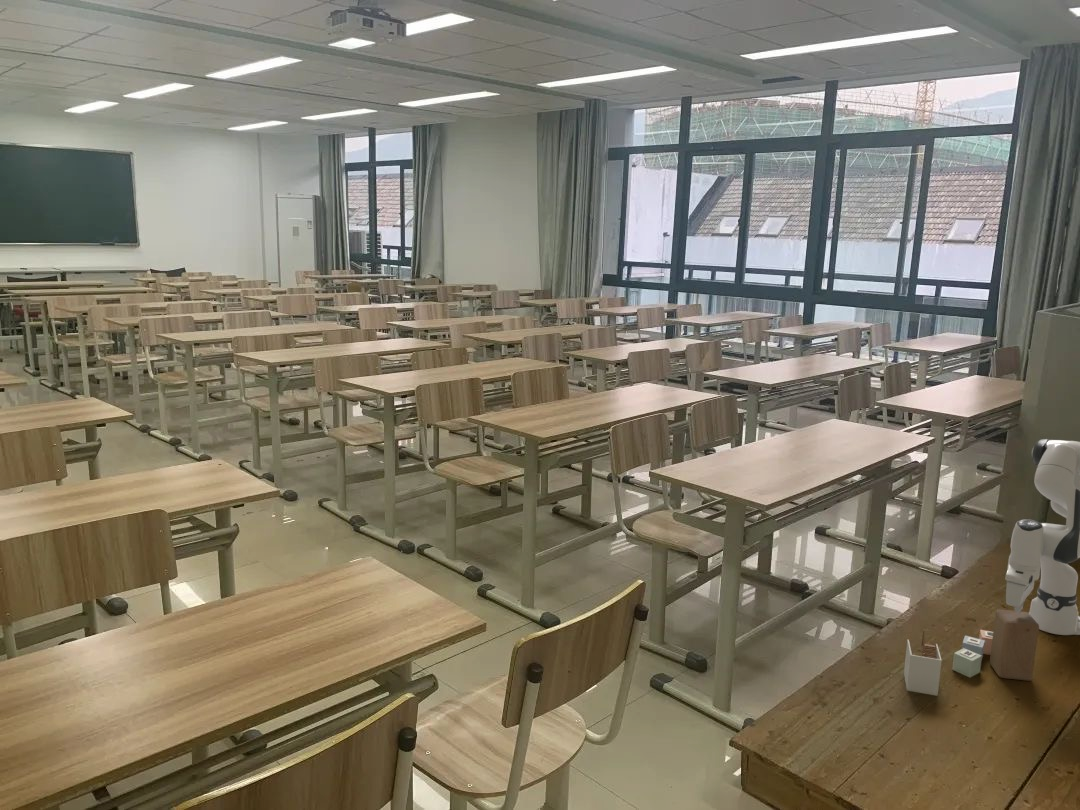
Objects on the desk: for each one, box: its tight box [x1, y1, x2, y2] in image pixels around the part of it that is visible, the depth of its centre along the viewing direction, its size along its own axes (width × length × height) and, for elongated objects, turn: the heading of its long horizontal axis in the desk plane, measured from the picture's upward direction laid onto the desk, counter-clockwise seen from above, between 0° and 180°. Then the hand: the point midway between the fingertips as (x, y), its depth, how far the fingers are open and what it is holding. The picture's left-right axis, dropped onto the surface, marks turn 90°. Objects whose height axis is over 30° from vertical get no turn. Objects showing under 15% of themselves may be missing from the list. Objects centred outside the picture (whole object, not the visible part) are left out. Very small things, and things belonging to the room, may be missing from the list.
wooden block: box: [989, 609, 1040, 681], centre depth 257 cm, size 10×10×20 cm
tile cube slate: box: [961, 635, 985, 662], centre depth 267 cm, size 6×6×6 cm
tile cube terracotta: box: [978, 629, 993, 656], centre depth 272 cm, size 6×6×6 cm
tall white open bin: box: [903, 629, 942, 697], centre depth 250 cm, size 9×11×17 cm
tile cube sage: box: [951, 648, 983, 678], centre depth 259 cm, size 6×6×6 cm
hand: (1018, 610), depth 254 cm, fingers closed
